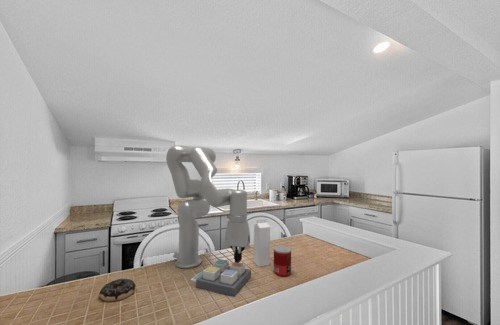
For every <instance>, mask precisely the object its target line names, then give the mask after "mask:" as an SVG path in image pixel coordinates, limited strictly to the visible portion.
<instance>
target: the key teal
mask: <svg viewBox="0 0 500 325" xmlns="http://www.w3.org/2000/svg"><path fill="white" fill-rule="evenodd" d="M212 265H213V267H218V268H220V272H222V273H223V272H224V271H225V270H226V269H228V268H229V266H230V262H229V260H226V259H221V258H219V259H217V260H216V261H214V262H213V264H212Z"/></svg>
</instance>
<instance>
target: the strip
mask: <svg viewBox="0 0 500 325" xmlns="http://www.w3.org/2000/svg"><path fill="white" fill-rule="evenodd" d="M205 269H206V268H204V269H203V270H201V271H200V272H198V273H197V274H196V275H194V276H193V277H192V278H191V279H190V280H189V281H190V282H193V283H196V280H197V279H198V278H199V277H201V276H202V275H203V271H204V270H205Z"/></svg>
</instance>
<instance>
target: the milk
mask: <svg viewBox="0 0 500 325" xmlns="http://www.w3.org/2000/svg"><path fill="white" fill-rule="evenodd" d="M270 251H271V226H270V224H269V223H268V219H258V220H256V223H255V224H254V225H253V263H254V264H255V266H258V267H259V268H261V267H266V266H270V263H271V262H270V261H271V252H270Z"/></svg>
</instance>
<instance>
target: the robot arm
mask: <svg viewBox="0 0 500 325" xmlns="http://www.w3.org/2000/svg"><path fill="white" fill-rule="evenodd" d="M165 157H166V158H165V159H166V160H165V161H166V165H167V168H168V170H169V172H170V174H171V178H172V182H173V186H174V190H175V194H176V196H177V198H179V199H185V200H184V201H181V202H180V203H179V204H178V206H177V216H178V225H179V227H178V228H179V229H178V230H179V231H178V234H179V235H178V251H175V252H174V254H173V255H172V257H173V258H174V259H175V258H176V261H175V263H174V264H175V267H177V268H179V269H192V268H195V267H197V266H198V267H199V265H201V264H202V259H201V258H200V257H199V243H200V242H199V235H200V234H199V233H200V229H199V224H198V221H197V220H196V219H197V218H201V217H204V216H206V215H208V214H209V212H210V210H211V208H210V207H213V208H220V207H224V206H229V214H228V215H227V216H226V218H227V219H228V221H227V223H226V229H225V237H224V238H225V240H224V241H225V244H226V245H225V246H226V247H228V248H230V249H231V250H232V252H233V259H234V262H237V263H241V261H242V259H243V251H244V250H249V249H251V245H250V242H251V232H250V231H251V230H250V225H249V222H248V219H247V218H248V193H247V191H246V190H243V189H232V188H218V189H217V187H216V186H215V184H214V183H213V180H212V178H213V177H214V176H215V175H216V174H217V173H218V168H217V167H216V165H215V164H214V163H215V161H216V159H217V158H216V157H217V156H216V152H215V151H214V150H213V149H212V148H210V147H209V148H208V147H204V146H203V147H202V146H196V147H194V146H185V145H173V146H171V147H170V148H169V149H167V152H166V156H165ZM183 163H192V164H193V165H192V166H194V168H195V170H196V171H197V173H198V175H199V176H200V180H199V179H192V178H190V174H189V170H188V168H186V166H185V165H184V164H183ZM189 198H192V199H189Z"/></svg>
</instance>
